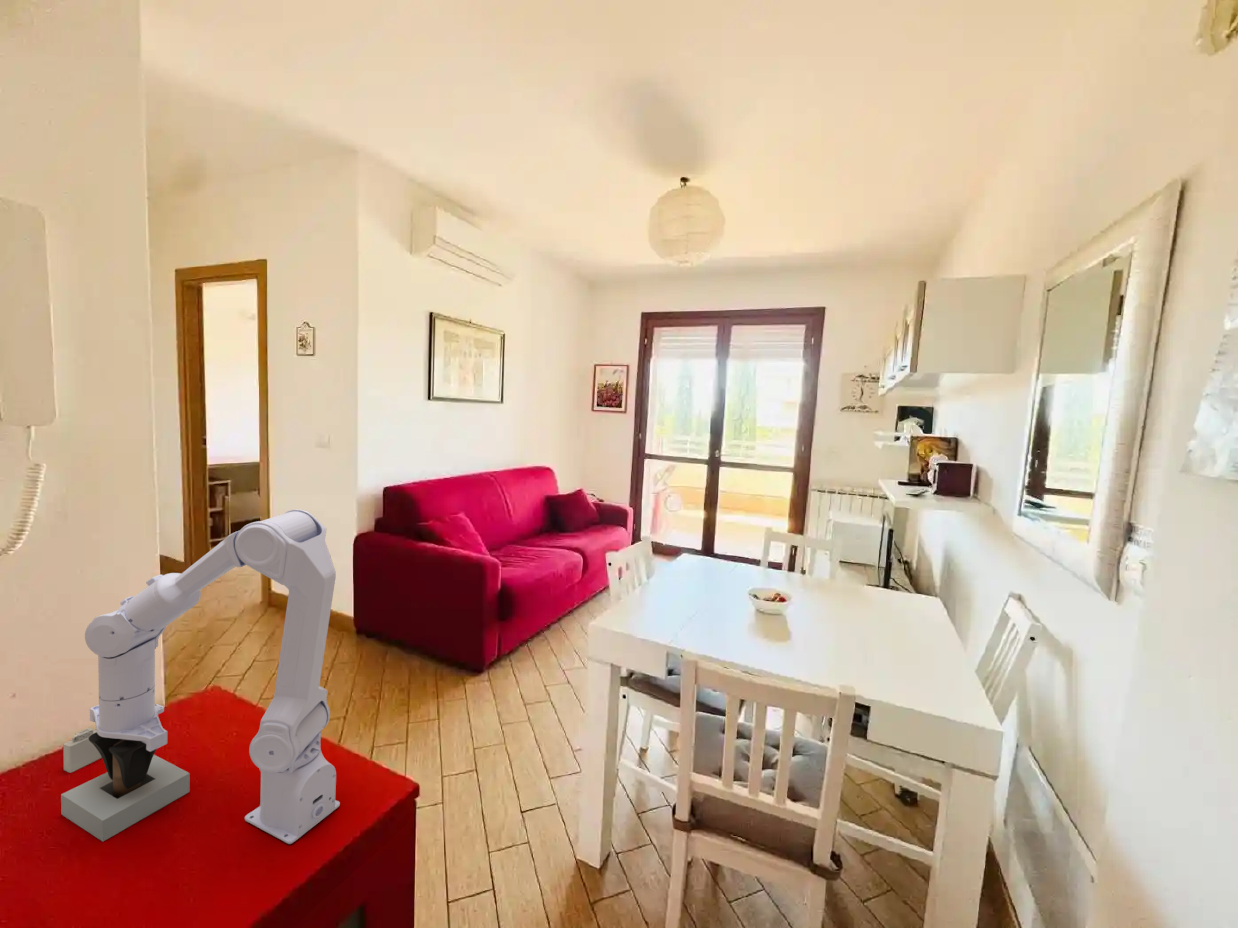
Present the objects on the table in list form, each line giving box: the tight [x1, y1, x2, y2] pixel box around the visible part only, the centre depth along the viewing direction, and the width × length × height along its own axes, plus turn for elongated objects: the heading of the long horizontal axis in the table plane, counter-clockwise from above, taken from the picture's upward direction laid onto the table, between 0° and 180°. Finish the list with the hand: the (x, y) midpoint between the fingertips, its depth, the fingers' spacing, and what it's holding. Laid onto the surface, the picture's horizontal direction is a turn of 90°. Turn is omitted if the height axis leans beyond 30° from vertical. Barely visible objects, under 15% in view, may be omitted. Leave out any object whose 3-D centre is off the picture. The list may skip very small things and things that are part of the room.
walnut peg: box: [113, 739, 142, 799], centre depth 73 cm, size 3×3×8 cm
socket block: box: [60, 754, 191, 842], centre depth 73 cm, size 10×10×3 cm
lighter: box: [63, 727, 102, 773], centre depth 81 cm, size 7×2×8 cm, turn 163°
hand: (127, 779), depth 73 cm, fingers closed on walnut peg, 3 cm apart
